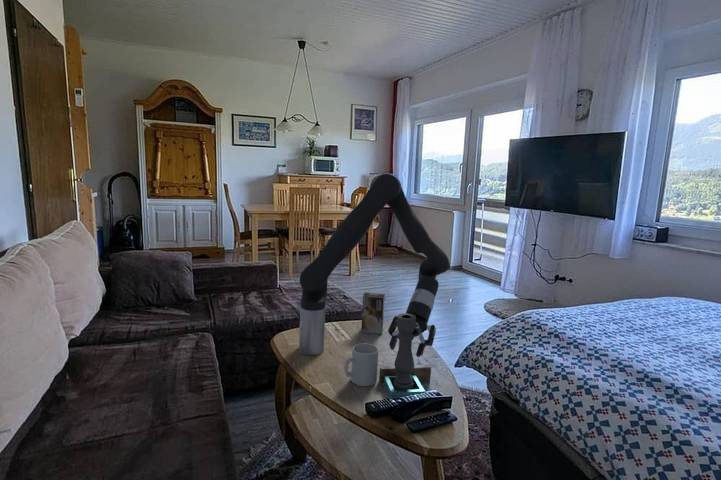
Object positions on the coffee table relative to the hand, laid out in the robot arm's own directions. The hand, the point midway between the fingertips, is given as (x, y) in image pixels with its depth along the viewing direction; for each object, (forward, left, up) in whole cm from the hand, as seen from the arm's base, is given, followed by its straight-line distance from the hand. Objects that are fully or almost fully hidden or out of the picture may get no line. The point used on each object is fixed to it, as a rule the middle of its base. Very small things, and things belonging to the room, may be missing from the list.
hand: (404, 352), depth 123 cm
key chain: (+10, +17, -15) cm, 24 cm away
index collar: (+1, +1, -14) cm, 14 cm away
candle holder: (+1, +1, -14) cm, 14 cm away
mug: (-12, +9, -14) cm, 21 cm away
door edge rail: (+3, +8, -14) cm, 17 cm away
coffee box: (+1, +51, -14) cm, 53 cm away
